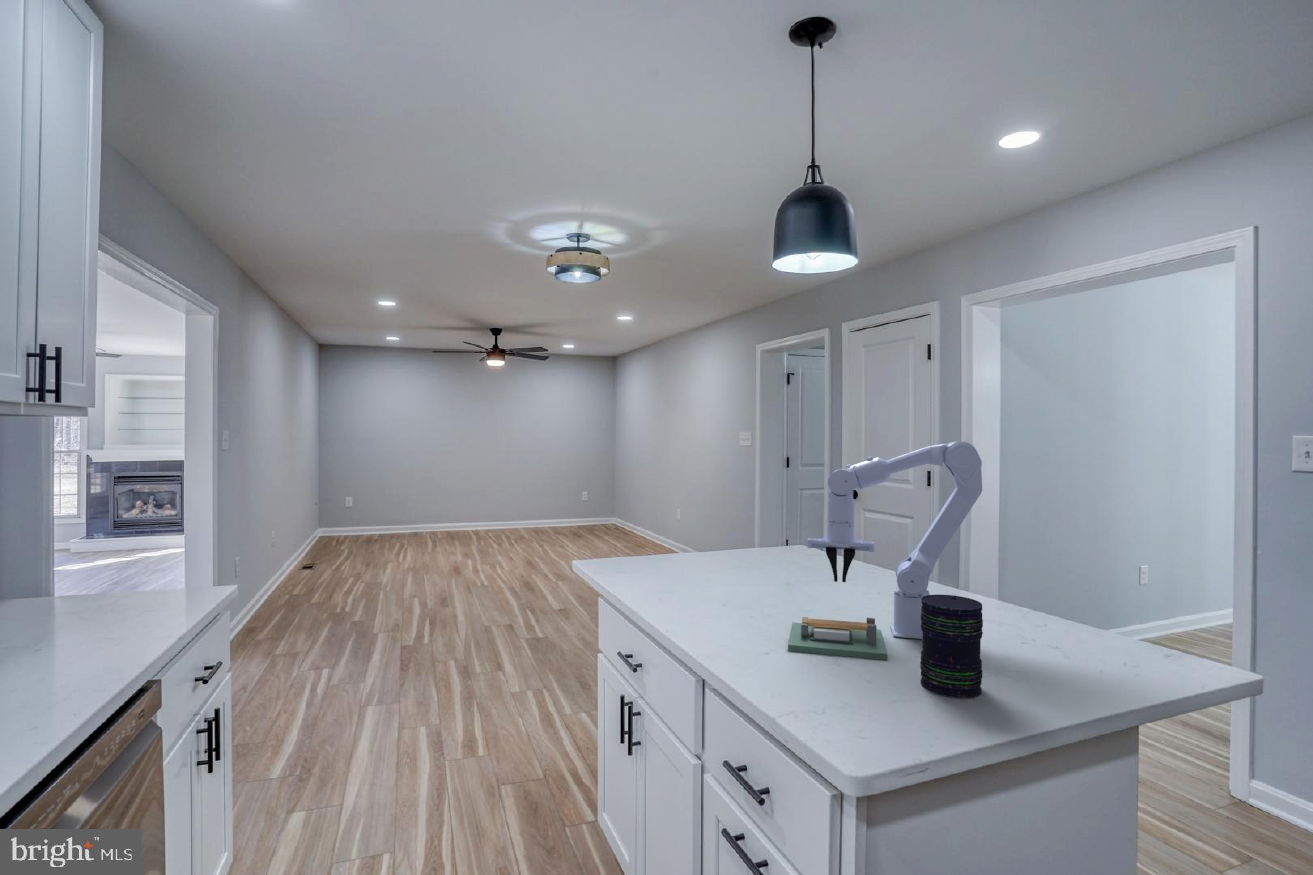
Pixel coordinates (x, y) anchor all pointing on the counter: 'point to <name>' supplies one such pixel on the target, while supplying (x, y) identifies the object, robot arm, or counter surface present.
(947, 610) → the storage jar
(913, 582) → the robot arm
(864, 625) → the hold-down strap
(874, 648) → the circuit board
